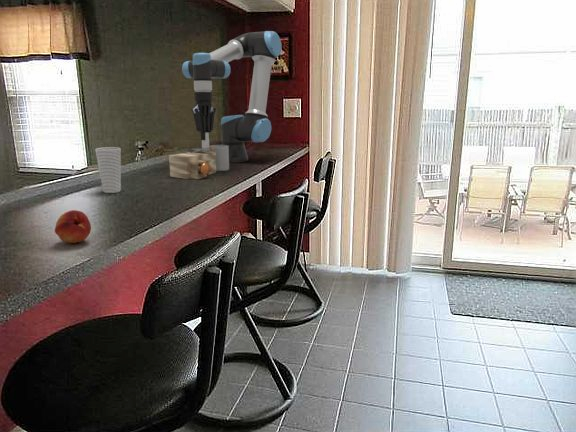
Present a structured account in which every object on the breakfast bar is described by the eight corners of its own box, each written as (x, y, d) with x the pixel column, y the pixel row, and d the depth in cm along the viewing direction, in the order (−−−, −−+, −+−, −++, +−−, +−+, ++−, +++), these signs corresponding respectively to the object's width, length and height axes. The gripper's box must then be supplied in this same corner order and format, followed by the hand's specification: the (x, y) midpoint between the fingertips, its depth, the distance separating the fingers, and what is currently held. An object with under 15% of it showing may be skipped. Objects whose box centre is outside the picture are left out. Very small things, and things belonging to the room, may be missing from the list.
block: (199, 170, 213) (198, 146, 210) (222, 173, 206) (221, 149, 203) (170, 176, 198) (168, 151, 195) (193, 179, 191) (192, 153, 188)
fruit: (56, 249, 107) (52, 216, 105) (56, 240, 114) (52, 208, 112) (93, 245, 110) (89, 212, 108) (91, 236, 117) (87, 205, 115)
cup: (100, 194, 163) (95, 150, 159) (98, 190, 171) (94, 147, 167) (125, 192, 167) (121, 149, 163) (123, 188, 174) (119, 146, 170)
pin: (182, 170, 204) (181, 159, 203) (211, 174, 195) (210, 162, 194) (174, 171, 200) (173, 160, 199) (203, 175, 191) (202, 164, 190)
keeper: (198, 151, 209) (198, 147, 209) (216, 149, 203) (216, 145, 203) (191, 152, 205) (190, 149, 205) (209, 150, 199) (208, 146, 199)
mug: (231, 168, 219) (230, 145, 216) (225, 171, 211) (225, 147, 208) (207, 167, 221) (206, 144, 219) (200, 170, 213) (199, 146, 210)
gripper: (207, 92, 204) (209, 146, 210) (185, 91, 193) (188, 148, 199) (220, 91, 200) (222, 146, 206) (198, 91, 189) (201, 149, 195)
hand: (205, 147), depth 202 cm, fingers closed
